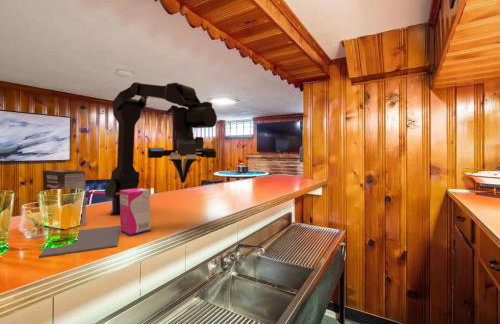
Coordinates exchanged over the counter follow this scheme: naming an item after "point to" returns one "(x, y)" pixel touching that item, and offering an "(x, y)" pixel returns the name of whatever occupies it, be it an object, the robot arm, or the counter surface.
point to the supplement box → (135, 211)
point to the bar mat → (88, 241)
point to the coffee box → (66, 183)
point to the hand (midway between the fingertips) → (182, 182)
